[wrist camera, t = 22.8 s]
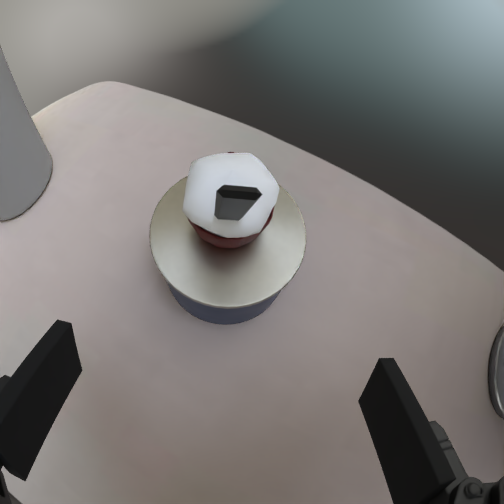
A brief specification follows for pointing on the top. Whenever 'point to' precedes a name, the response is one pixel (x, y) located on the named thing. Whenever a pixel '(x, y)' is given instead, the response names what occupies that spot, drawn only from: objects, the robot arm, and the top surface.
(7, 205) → the cylinder vase
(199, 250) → the beige and blue cylinder
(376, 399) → the robot arm
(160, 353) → the top surface
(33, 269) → the top surface
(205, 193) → the cocoa
